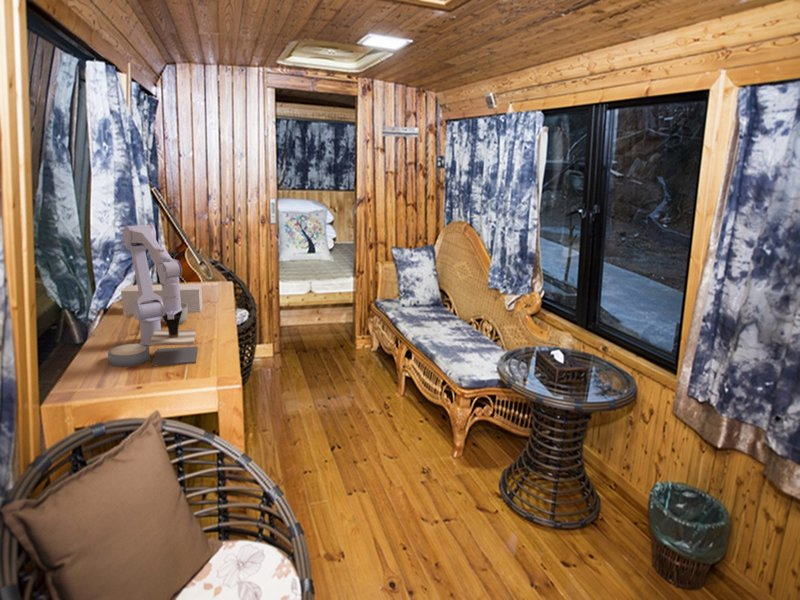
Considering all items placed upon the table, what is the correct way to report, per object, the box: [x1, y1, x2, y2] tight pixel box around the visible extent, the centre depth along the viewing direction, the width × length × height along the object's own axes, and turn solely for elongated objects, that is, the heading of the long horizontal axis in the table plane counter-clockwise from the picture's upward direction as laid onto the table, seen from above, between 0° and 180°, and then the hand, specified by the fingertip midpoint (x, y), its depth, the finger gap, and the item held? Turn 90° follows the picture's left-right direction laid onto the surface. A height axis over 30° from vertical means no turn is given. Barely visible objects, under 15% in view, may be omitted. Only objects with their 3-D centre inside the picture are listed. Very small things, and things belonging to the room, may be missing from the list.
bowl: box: [107, 343, 151, 368], centre depth 197 cm, size 13×13×4 cm
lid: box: [149, 328, 197, 347], centre depth 199 cm, size 14×14×5 cm
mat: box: [151, 346, 199, 367], centre depth 201 cm, size 16×14×1 cm
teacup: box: [160, 302, 189, 325], centre depth 237 cm, size 14×11×8 cm
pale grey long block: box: [120, 283, 204, 315], centre depth 256 cm, size 32×11×11 cm, turn 103°
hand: (174, 333), depth 199 cm, fingers closed on lid, 3 cm apart
